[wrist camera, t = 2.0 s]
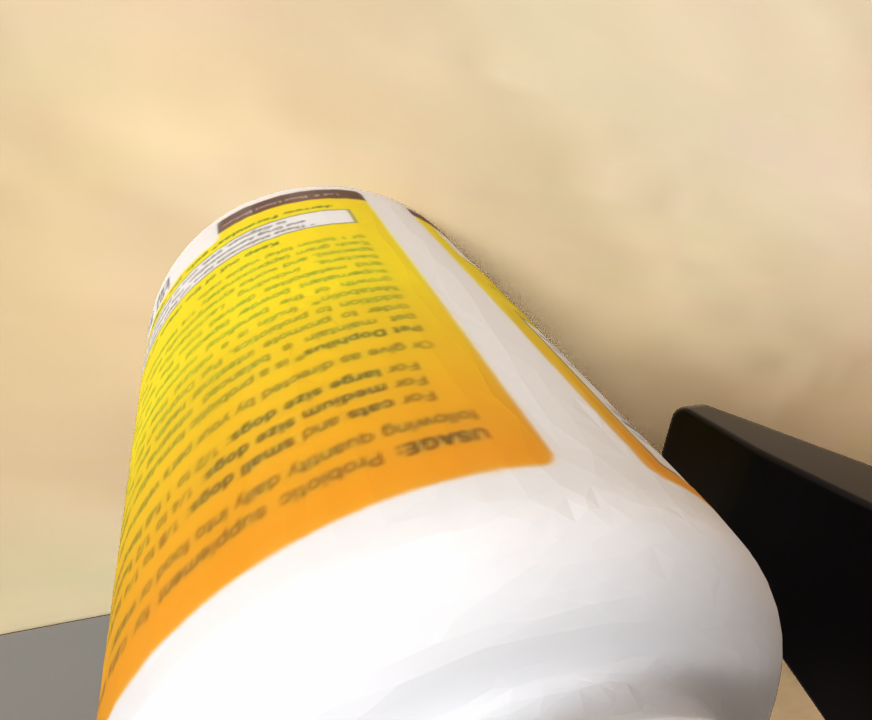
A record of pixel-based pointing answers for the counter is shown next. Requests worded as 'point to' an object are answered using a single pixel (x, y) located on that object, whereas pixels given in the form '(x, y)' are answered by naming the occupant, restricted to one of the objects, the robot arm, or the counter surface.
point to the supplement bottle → (403, 502)
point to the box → (53, 671)
